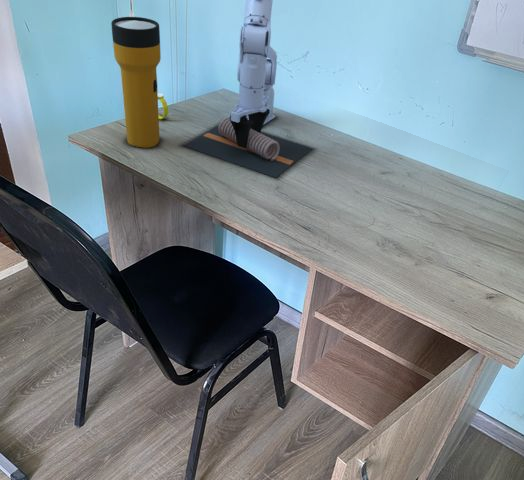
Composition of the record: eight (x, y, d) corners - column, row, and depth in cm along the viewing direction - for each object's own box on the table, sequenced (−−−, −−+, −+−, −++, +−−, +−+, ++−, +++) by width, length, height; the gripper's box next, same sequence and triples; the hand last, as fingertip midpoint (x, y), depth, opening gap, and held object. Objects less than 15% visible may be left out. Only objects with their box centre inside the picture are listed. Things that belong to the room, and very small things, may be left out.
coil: (282, 140, 127) (231, 115, 136) (269, 143, 124) (218, 117, 133) (279, 159, 130) (229, 133, 138) (265, 162, 127) (216, 136, 136)
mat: (226, 121, 144) (226, 120, 144) (312, 149, 136) (312, 148, 136) (183, 146, 131) (183, 145, 131) (275, 178, 123) (276, 177, 123)
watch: (146, 115, 142) (145, 92, 138) (154, 112, 144) (153, 89, 140) (163, 122, 140) (162, 99, 136) (170, 119, 142) (169, 96, 138)
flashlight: (121, 12, 117) (165, 19, 116) (131, 129, 135) (169, 136, 134) (103, 23, 110) (149, 30, 109) (116, 145, 128) (156, 153, 127)
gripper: (251, 97, 117) (247, 157, 126) (281, 80, 126) (275, 137, 136) (223, 89, 119) (221, 148, 128) (256, 73, 128) (251, 129, 138)
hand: (248, 142), depth 132 cm, fingers closed on coil, 5 cm apart
